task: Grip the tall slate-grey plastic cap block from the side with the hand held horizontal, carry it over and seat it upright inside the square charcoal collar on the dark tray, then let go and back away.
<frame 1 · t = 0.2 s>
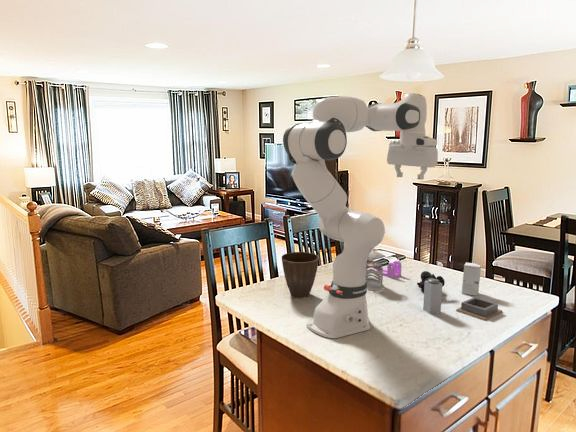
hand: (409, 178, 163), 48 cm above the kitchen island, tool pointing down, fingers open, 8 cm apart
cap block: (431, 311, 161), on the kitchen island
skincare box: (470, 293, 179), on the kitchen island
bracket: (385, 274, 204), on the kitchen island
french press: (370, 286, 188), on the kitchen island
plant pot: (300, 295, 178), on the kitchen island
night vision scope: (428, 291, 181), on the kitchen island
collar: (479, 311, 160), on the kitchen island
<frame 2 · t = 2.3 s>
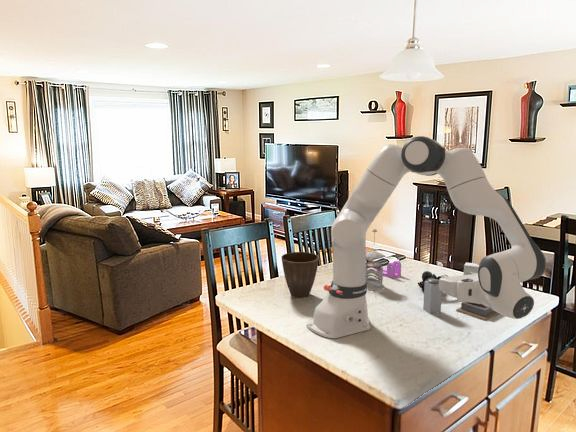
hand: (455, 275, 147), 17 cm above the kitchen island, tool horizontal, fingers open, 8 cm apart
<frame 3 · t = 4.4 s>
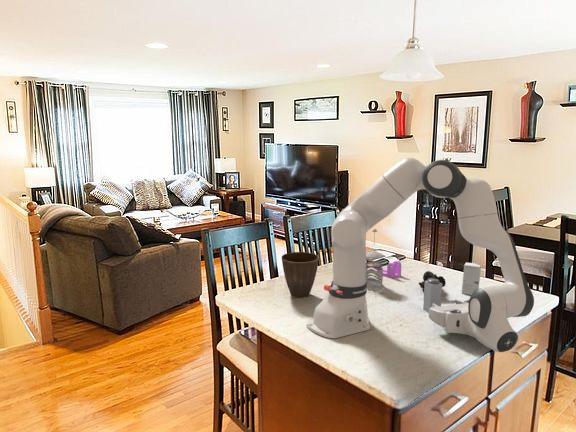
hand: (445, 303, 152), 6 cm above the kitchen island, tool horizontal, fingers open, 8 cm apart
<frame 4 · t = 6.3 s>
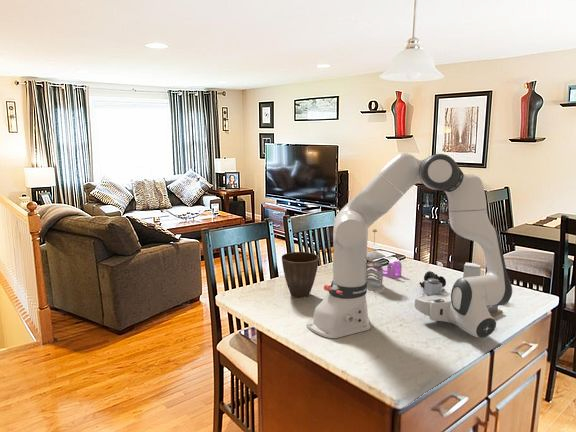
hand: (431, 294, 161), 6 cm above the kitchen island, tool horizontal, fingers closed on cap block, 4 cm apart
cap block: (431, 311, 161), on the kitchen island, touching gripper
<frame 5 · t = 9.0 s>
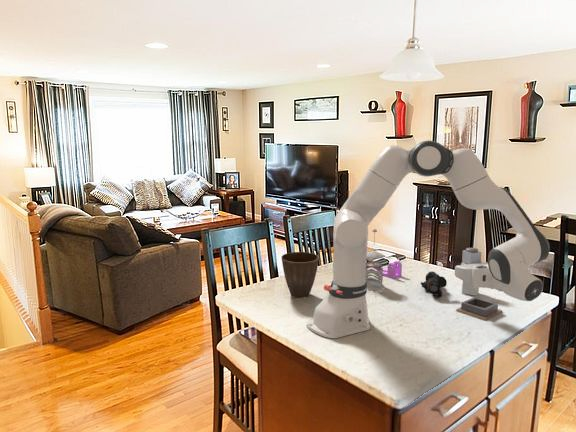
hand: (469, 264, 158), 18 cm above the kitchen island, tool horizontal, fingers closed on cap block, 4 cm apart
cap block: (470, 280, 158), point 12 cm above the kitchen island, touching gripper
when the fingers open (8 cm above the kitchen island, at t = 11.4 s): cap block drops 1 cm, resting on collar.
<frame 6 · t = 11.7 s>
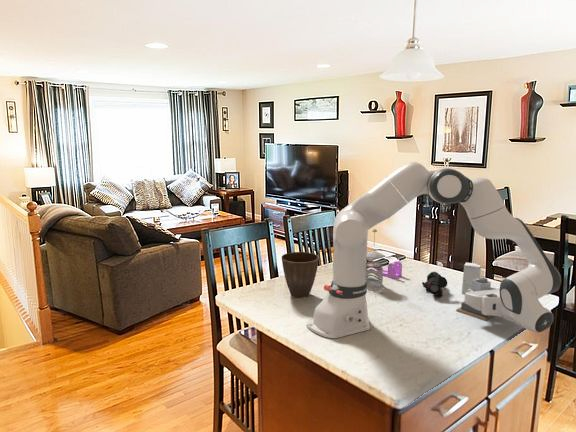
hand: (478, 289, 160), 8 cm above the kitchen island, tool horizontal, fingers open, 7 cm apart
cap block: (479, 309, 160), point 1 cm above the kitchen island, touching collar
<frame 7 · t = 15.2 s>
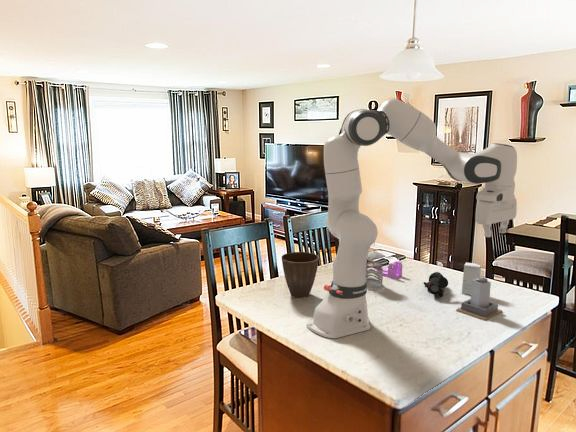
hand: (495, 234, 147), 31 cm above the kitchen island, tool pointing down, fingers open, 8 cm apart
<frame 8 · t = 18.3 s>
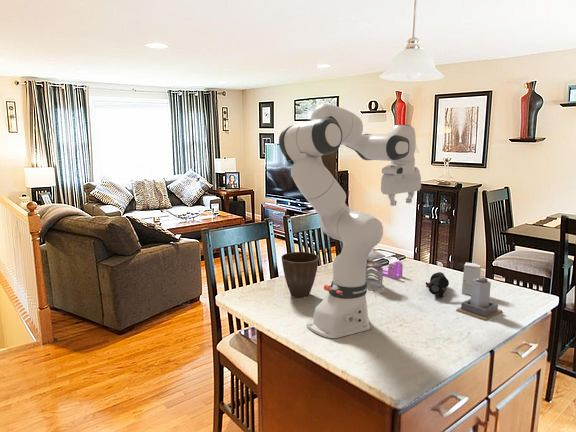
hand: (401, 204, 170), 37 cm above the kitchen island, tool pointing down, fingers open, 8 cm apart
at the end: cap block 0.1 cm off-centre on the collar, point 0.6 cm above the collar's base; cap block tilted 0°; the gripper is holding nothing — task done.
